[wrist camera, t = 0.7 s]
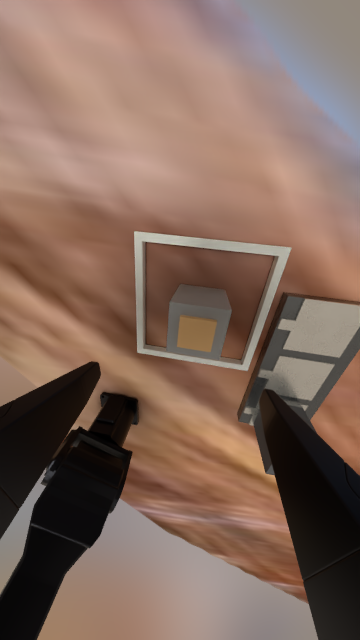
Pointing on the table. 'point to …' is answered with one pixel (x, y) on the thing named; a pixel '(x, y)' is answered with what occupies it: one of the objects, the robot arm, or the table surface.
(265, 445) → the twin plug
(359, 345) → the strip
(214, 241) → the white square frame
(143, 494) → the table surface
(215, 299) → the plug
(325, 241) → the table surface
